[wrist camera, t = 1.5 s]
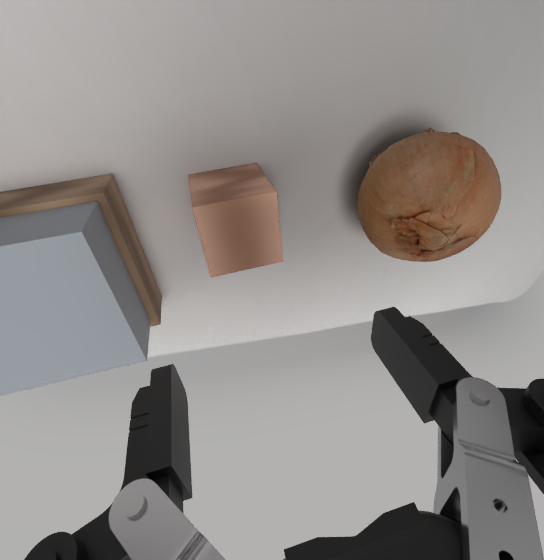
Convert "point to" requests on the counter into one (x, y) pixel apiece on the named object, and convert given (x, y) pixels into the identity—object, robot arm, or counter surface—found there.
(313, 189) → the counter surface
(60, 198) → the walnut block
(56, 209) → the slate block
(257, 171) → the terracotta block
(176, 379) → the robot arm
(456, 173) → the onion
